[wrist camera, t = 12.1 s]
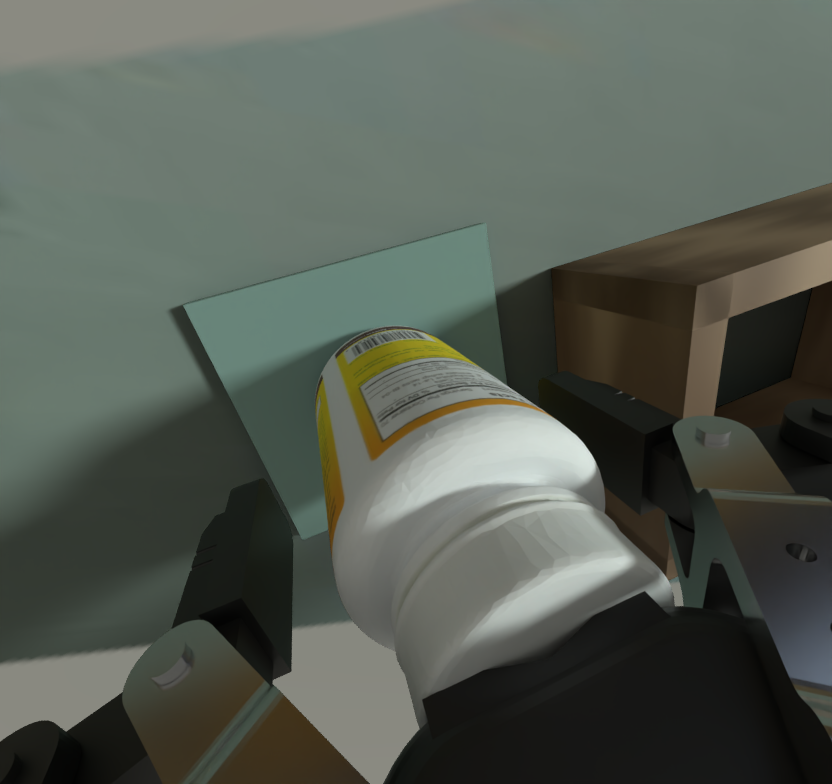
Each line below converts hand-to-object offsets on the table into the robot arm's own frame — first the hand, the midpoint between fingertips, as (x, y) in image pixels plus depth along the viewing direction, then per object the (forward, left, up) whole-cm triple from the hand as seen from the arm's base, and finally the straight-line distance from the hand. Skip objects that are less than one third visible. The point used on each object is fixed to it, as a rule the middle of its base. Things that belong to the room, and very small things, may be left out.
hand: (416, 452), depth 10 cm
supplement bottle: (0, 0, -4) cm, 4 cm away
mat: (0, 0, -5) cm, 5 cm away
